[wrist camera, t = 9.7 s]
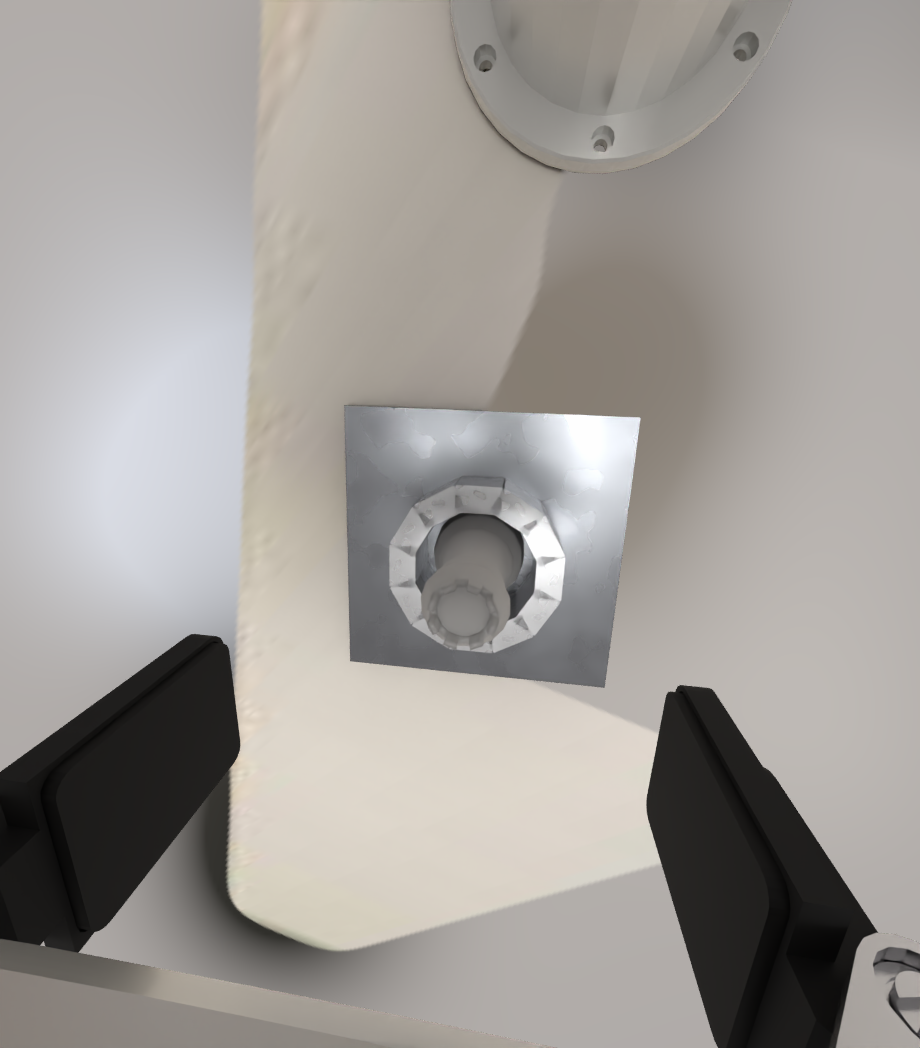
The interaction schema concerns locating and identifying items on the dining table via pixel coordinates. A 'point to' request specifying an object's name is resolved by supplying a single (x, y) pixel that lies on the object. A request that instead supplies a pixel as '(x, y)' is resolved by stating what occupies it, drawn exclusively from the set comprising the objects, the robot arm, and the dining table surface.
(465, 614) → the rook chess piece
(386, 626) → the socket
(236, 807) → the dining table surface
